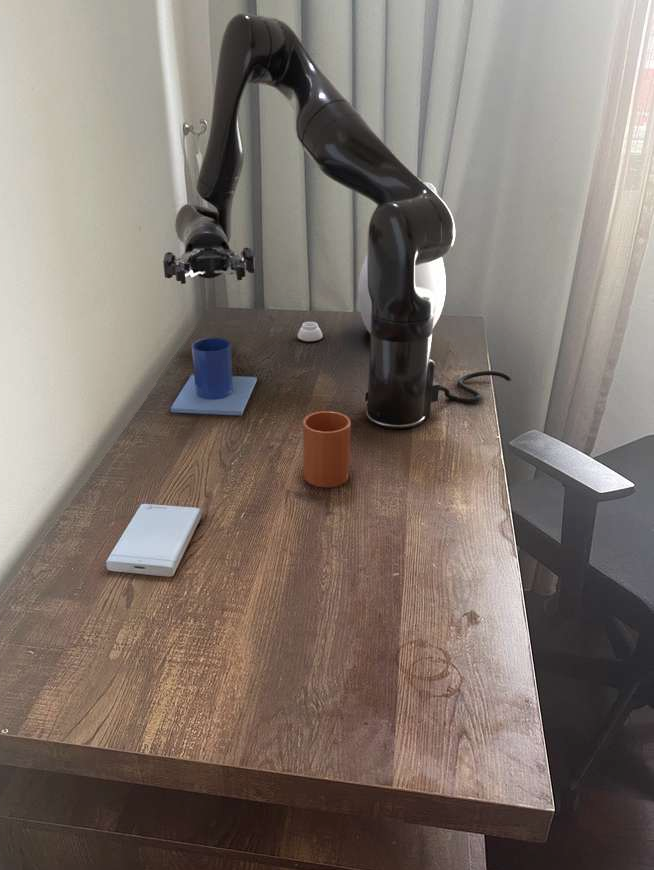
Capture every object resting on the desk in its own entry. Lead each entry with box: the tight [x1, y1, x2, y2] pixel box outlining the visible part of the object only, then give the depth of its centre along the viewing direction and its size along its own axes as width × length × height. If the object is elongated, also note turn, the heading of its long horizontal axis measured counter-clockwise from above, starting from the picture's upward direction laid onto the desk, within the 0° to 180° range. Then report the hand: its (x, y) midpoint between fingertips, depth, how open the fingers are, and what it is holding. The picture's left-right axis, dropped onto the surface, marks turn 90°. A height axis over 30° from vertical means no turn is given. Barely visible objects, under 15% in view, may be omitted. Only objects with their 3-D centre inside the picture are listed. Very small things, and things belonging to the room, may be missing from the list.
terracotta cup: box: [302, 410, 352, 488], centre depth 102 cm, size 6×6×8 cm
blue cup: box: [191, 337, 234, 400], centre depth 125 cm, size 6×6×8 cm
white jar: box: [297, 321, 323, 342], centre depth 149 cm, size 5×3×5 cm
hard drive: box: [105, 503, 202, 578], centre depth 91 cm, size 2×8×12 cm
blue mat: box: [169, 374, 258, 417], centre depth 127 cm, size 14×12×1 cm
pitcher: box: [357, 181, 447, 334], centre depth 139 cm, size 24×17×28 cm
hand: (211, 275), depth 111 cm, fingers open, 8 cm apart
